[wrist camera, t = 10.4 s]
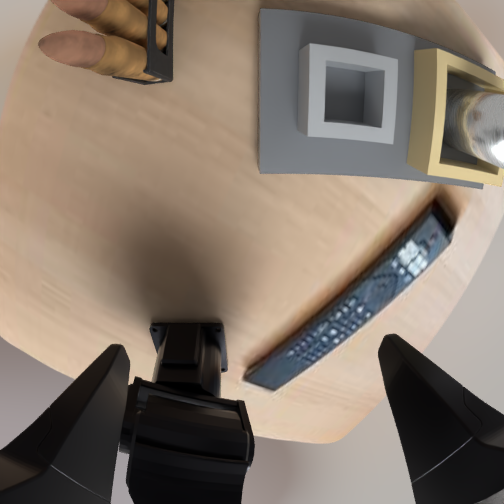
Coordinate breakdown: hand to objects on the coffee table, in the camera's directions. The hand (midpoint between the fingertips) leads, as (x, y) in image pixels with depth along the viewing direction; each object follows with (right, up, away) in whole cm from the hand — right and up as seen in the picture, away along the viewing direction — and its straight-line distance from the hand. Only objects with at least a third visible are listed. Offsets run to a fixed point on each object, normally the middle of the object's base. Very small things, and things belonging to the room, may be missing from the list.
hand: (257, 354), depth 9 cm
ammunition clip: (-6, +18, +3) cm, 19 cm away
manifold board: (+9, +13, +7) cm, 17 cm away
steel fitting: (+14, +13, +6) cm, 19 cm away
